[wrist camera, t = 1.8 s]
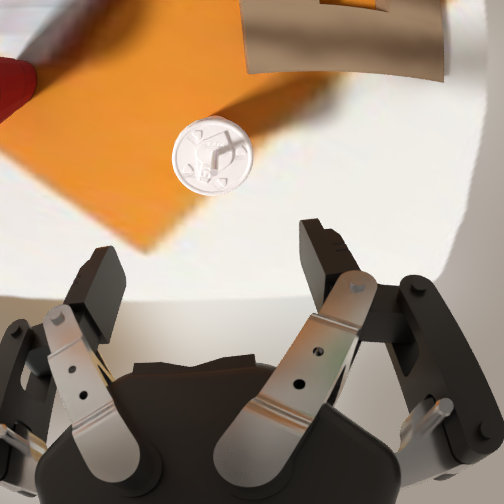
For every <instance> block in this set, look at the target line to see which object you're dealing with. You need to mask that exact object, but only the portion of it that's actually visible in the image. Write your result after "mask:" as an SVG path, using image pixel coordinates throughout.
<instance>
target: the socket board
mask: <svg viewBox="0 0 504 504" xmlns="http://www.w3.org/2000/svg"><path fill="white" fill-rule="evenodd" d="M375 3H376V10H372V9H365V8H358V7H349V6H340V5H328V4H320V3H319V0H239V4H240V13H241V21H242V30H243V39H244V49H245V58H246V67H247V74H258V73H272V72H293V71H342V72H362V73H376V74H387V75H396V76H405V77H412V78H419V79H426V80H432V81H437V82H443V83H444V44H443V26H442V14H441V4H440V0H375Z"/></svg>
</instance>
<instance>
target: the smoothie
mask: <svg viewBox="0 0 504 504" xmlns="http://www.w3.org/2000/svg"><path fill="white" fill-rule="evenodd" d="M172 164H173V168H174V171H175V173H176V175H177V177H178V179H179V180H180V181H181V182H182V183H183V184H184V185H185V186H186V187H187V188H189V189H190V190H192V191H194V192H196V193H199V194H202V195H209V196H215V195H222V194H226V193H228V192H231V191H233V190H234V189H236V188H237V187H239V186H240V185H241V184H242V183H243V182H244V181H245V180H246V178H247V177H248V175H249V173H250V171H251V168H252V165H253V149H252V145H251V141H250V139H249V137H248V136H247V134H246V132H245V131H244V130H243V129H242V128H241V127H240V126H239V125H237V124H235V123H233V122H232V121H230V120H227V119H225V118H224V117H222V116H217V115H214V116H209V117H207V118H204V119H200V120H197V121H195V122H193V123H192V124H190V125H188V126H187V127H186V128H185V129H184V130H183V131H182V132H181V133H180V134H179V136H178V138H177V140H176V142H175V145H174V148H173V153H172Z"/></svg>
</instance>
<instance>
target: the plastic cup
mask: <svg viewBox="0 0 504 504" xmlns="http://www.w3.org/2000/svg"><path fill="white" fill-rule="evenodd" d="M36 84H37V75H36V71H35V69H34V67H33V66H32V65H31V64H30V63H28V62H26V61H22V60H15V59H13V58H5V57H0V123H2V122H3V121H4V120H5V119H7V118H8V117H9V116H11V115H12V114H13V113H14V112H15V111H16V110H18V109H19V108H21V107H22V106H23V105H24V104H26V103H27V102H28V101H29V100H30V99H31V97H32V95H33V93H34V92H35V88H36Z"/></svg>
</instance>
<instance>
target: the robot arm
mask: <svg viewBox="0 0 504 504" xmlns="http://www.w3.org/2000/svg"><path fill="white" fill-rule="evenodd" d="M299 252H300V261H301V265H302V268H303V271H304V274H305V277H306V280H307V282H308V285H309V288H310V291H311V294H312V297H313V300H314V302H315V306H316V309H317V312H318V314H315V313H313V314H311V315H310V317H309V318H308V320H307V321H306V323H305V325H304V326H303V328H302V330H301V331H300V333H299V334H298V336H297V337H296V339H295V340H294V342H293V344H292V345H291V347H290V348H289V350H288V351H287V353H286V354H285V356H284V357H283V359H282V360H281V362H280V364H279V365H278V366H277V367H274V366H271V365H268V364H263V363H256V361H255V355H254V354H250V355H241V356H232V357H223V358H220V359H217V360H213V361H210V362H207V363H204V364H200V365H197V366H193V367H187V366H181V365H174V364H169V363H163V362H155V363H134V367H133V372H132V373H129V374H126V375H124V376H122V377H120V378H118V379H117V380H115V378H114V377H113V375H112V373H111V371H110V370H109V368H108V366H107V364H106V362H105V361H104V359H103V357H102V355H101V353H100V352H99V351H98V349H97V348H98V345H99V344H109V342H110V338H111V334H112V331H113V327H114V324H115V321H116V317H117V314H118V310H119V306H120V304H121V300H122V297H123V294H124V291H125V288H126V276H125V273H124V270H123V268H122V266H121V263H120V261H119V258H118V256H117V253H116V251H115V249H114V247H113V246H106V247H100V248H96V249H95V251H94V252H93V254H92V256H91V258H90V260H88V261H87V262H86V263H85V264H84V265H83V266H82V267H81V268H80V270H79V272H78V274H77V276H76V278H75V280H74V282H73V284H72V286H71V288H70V290H69V292H68V294H67V296H66V298H65V300H64V302H63V305H58V306H56V307H54V308H53V309H51V310H50V311H49V312H48V313H47V314H46V316H45V318H44V320H43V323H42V324H39V325H36V326H33V327H31V326H30V325H29V323H28V322H27V321H26V320H25V319H19V320H16V321H15V322H13V323H12V324H11V325H10V326H9V327H8V328H7V330H6V332H5V334H4V336H3V338H2V341H1V343H0V485H1V486H3V487H5V488H7V489H9V490H11V491H14V492H18V493H20V494H23V495H25V496H27V497H35V496H36V495H38V497H39V500H40V504H395V502H396V499H397V495H398V493H399V491H400V490H403V489H406V488H409V487H412V486H415V485H418V484H421V483H423V482H426V481H428V480H431V479H434V480H446V479H448V478H450V477H452V476H454V475H456V474H458V473H459V472H461V471H463V470H465V469H467V468H468V467H470V466H472V465H473V464H475V463H477V462H478V461H480V460H482V459H483V458H485V457H487V456H488V455H490V454H491V453H493V452H494V451H495V450H497V449H498V448H499V447H500V446H501V444H502V442H503V440H504V420H503V418H502V415H501V413H500V410H499V408H498V406H497V403H496V401H495V398H494V396H493V394H492V392H491V389H490V387H489V385H488V382H487V380H486V378H485V376H484V374H483V372H482V370H481V368H480V366H479V363H478V361H477V360H476V357H475V355H474V353H473V352H472V350H471V348H470V346H469V344H468V342H467V340H466V338H465V336H464V335H463V333H462V331H461V329H460V327H459V326H458V324H457V322H456V320H455V319H454V317H453V315H452V314H451V312H450V310H449V308H448V307H447V305H446V304H445V302H444V300H443V298H442V297H441V295H440V293H439V292H438V290H437V289H436V287H435V285H434V284H433V283H432V282H431V281H430V280H429V279H427V278H425V277H423V276H420V275H409V276H406V277H404V278H403V279H402V280H401V282H400V285H399V286H392V285H381V284H377V282H376V280H375V279H374V277H373V276H371V275H370V274H368V273H366V272H363V271H361V270H360V268H359V266H358V265H357V263H356V261H355V259H354V258H353V256H352V254H351V252H350V251H349V250H348V247H347V245H346V244H345V242H344V240H343V239H342V237H341V235H340V234H338V233H337V232H336V231H334V230H333V229H324V228H323V226H322V225H321V223H320V221H319V219H318V218H315V219H307V220H300V222H299ZM363 341H367V342H382V343H383V342H384V343H385V344H386V347H387V350H388V353H389V355H390V358H391V361H392V363H393V366H394V369H395V372H396V375H397V377H398V380H399V383H400V386H401V389H402V392H403V395H404V398H405V401H406V405H407V408H408V411H409V414H410V415H409V416H408V417H407V418H406V419H405V421H404V422H403V424H402V426H401V429H400V440H401V443H400V448H399V450H398V452H396V453H393V451H392V450H391V449H390V448H389V447H388V446H387V445H386V444H385V443H383V442H382V441H380V440H379V439H377V438H376V437H375V436H373V435H372V434H370V433H369V432H367V431H366V430H364V429H363V428H362V427H360V426H359V425H357V424H356V423H355V422H353V421H352V420H350V419H349V418H348V417H346V416H345V415H343V414H342V413H341V412H339V411H338V410H337V409H335V408H334V406H335V404H336V402H337V400H338V398H339V396H340V394H341V391H342V389H343V387H344V384H345V382H346V379H347V377H348V375H349V372H350V370H351V368H352V366H353V363H354V361H355V359H356V357H357V355H358V352H359V350H360V347H361V345H362V343H363ZM24 365H26V366H27V367H28V368H29V369H30V370H31V373H30V376H29V380H28V383H27V387H26V390H24V389H23V388H22V386H21V382H20V378H21V374H22V371H23V368H24ZM56 389H58V391H59V394H60V397H61V400H62V402H63V405H64V407H65V409H66V412H67V415H68V417H69V419H70V421H71V425H70V426H69V427H68V428H67V429H66V430H65V432H63V434H62V435H61V436H60V437H59V438H58V439H57V440H56V441H55V442H54V443H53V444H52V445H51V446H50V447H49V448H48V449H47V446H46V441H47V434H48V429H49V423H50V418H51V412H52V408H53V403H54V398H55V394H56Z"/></svg>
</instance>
